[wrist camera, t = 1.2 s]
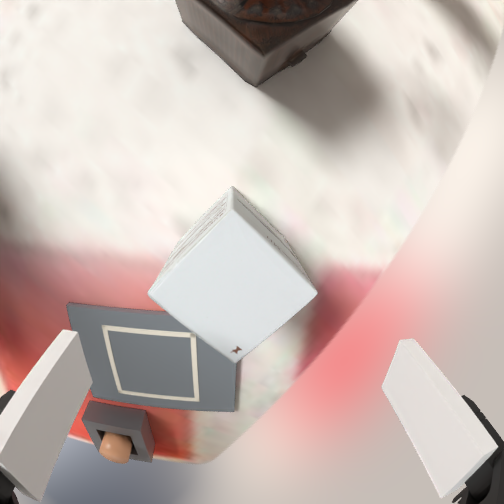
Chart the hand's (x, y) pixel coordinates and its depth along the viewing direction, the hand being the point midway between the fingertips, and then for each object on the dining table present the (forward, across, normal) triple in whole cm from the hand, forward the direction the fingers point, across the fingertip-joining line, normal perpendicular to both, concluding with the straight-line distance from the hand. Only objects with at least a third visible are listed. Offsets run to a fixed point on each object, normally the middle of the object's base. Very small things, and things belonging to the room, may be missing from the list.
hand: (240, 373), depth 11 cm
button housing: (+19, -16, -30) cm, 39 cm away
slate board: (+19, -9, -16) cm, 26 cm away
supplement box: (+19, 0, 0) cm, 19 cm away
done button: (+16, -16, -30) cm, 38 cm away
